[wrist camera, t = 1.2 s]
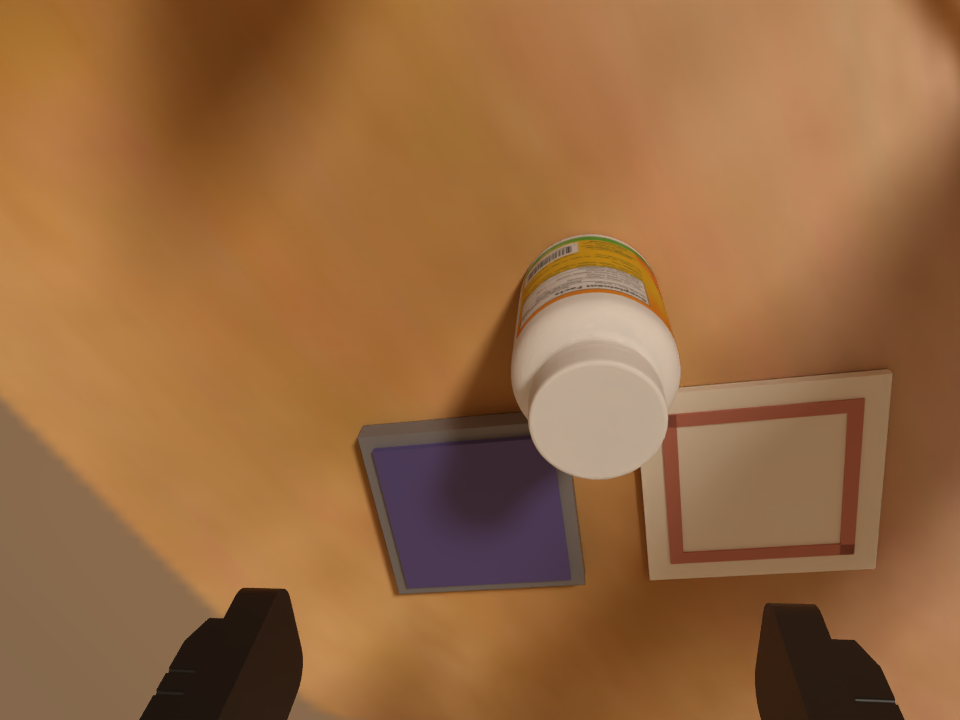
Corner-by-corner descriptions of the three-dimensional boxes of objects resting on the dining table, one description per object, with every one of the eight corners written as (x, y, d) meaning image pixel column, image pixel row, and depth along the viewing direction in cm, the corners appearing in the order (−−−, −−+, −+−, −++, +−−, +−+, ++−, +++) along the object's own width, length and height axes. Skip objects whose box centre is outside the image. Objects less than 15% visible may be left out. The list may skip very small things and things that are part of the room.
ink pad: (564, 408, 33) (564, 424, 31) (584, 569, 36) (585, 589, 35) (363, 425, 34) (355, 441, 33) (403, 579, 38) (398, 598, 37)
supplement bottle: (636, 368, 31) (664, 517, 23) (508, 342, 32) (488, 481, 23) (674, 245, 29) (721, 360, 20) (535, 217, 29) (524, 320, 20)
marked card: (888, 369, 30) (893, 375, 30) (872, 562, 35) (876, 570, 34) (634, 391, 32) (635, 397, 31) (649, 574, 36) (650, 581, 36)
